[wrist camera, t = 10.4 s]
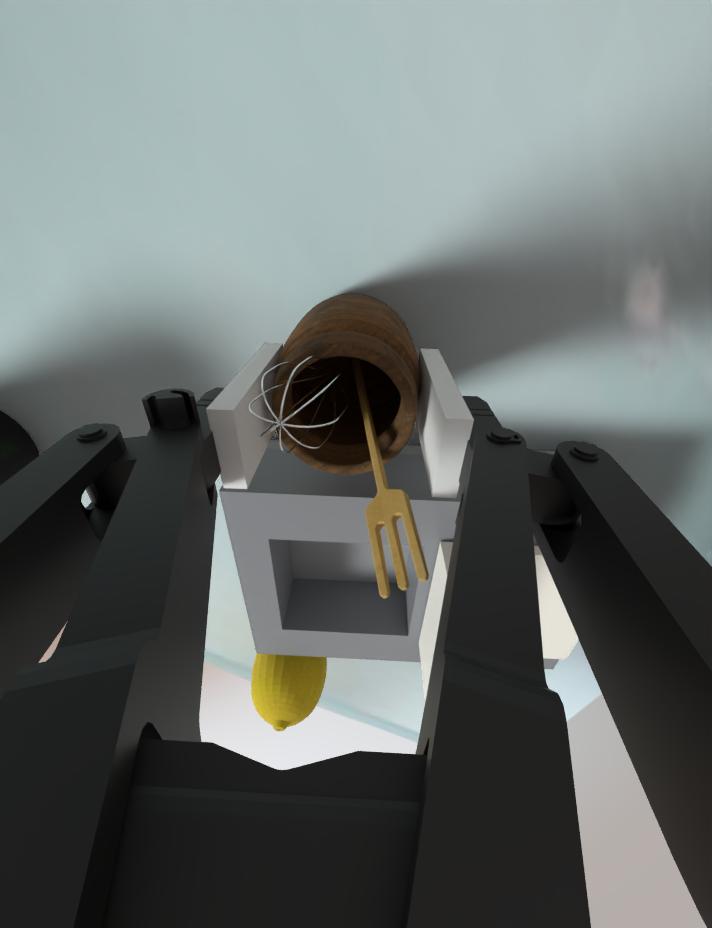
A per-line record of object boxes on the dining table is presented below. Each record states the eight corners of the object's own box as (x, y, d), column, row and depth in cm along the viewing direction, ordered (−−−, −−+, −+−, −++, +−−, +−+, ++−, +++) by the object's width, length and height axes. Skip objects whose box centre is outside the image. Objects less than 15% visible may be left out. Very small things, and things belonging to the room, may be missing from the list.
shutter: (440, 541, 18) (454, 608, 15) (623, 550, 18) (675, 619, 15) (418, 642, 23) (425, 709, 20) (561, 650, 23) (591, 718, 20)
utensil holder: (365, 259, 16) (350, 323, 6) (437, 372, 19) (511, 546, 9) (268, 340, 18) (140, 488, 8) (346, 431, 21) (321, 626, 11)
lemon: (287, 592, 29) (261, 703, 22) (344, 619, 31) (335, 729, 24) (255, 624, 32) (223, 731, 25) (309, 647, 33) (293, 753, 27)
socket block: (249, 438, 21) (219, 491, 17) (596, 452, 21) (651, 510, 17) (273, 591, 29) (256, 653, 25) (526, 604, 29) (552, 669, 24)
